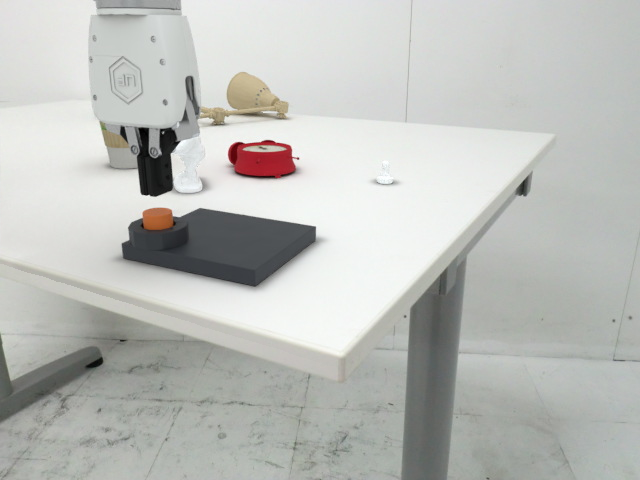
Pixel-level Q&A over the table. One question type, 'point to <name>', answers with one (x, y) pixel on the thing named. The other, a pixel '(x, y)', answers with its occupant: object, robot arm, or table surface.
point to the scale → (220, 244)
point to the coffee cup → (118, 150)
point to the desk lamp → (246, 99)
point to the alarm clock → (262, 158)
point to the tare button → (157, 218)
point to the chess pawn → (385, 174)
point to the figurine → (189, 165)
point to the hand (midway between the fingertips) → (157, 192)
